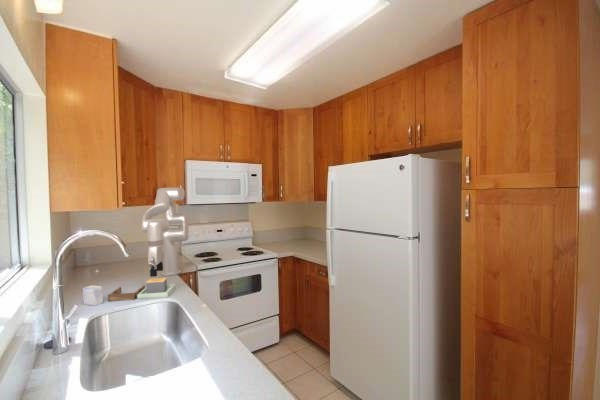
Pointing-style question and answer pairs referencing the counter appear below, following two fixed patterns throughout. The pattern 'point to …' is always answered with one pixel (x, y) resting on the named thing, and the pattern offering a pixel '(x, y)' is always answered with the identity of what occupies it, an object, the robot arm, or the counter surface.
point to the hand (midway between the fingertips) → (156, 273)
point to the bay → (123, 295)
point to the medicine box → (92, 295)
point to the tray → (144, 294)
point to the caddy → (156, 285)
